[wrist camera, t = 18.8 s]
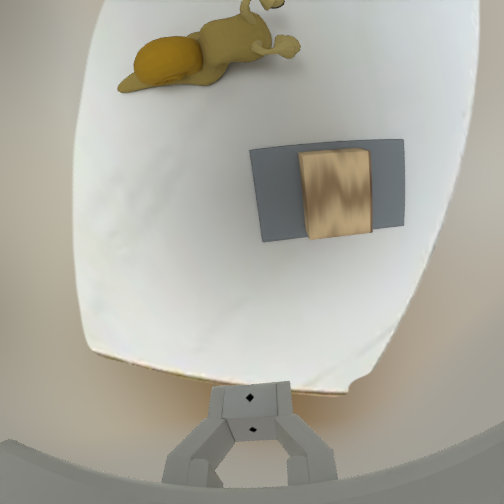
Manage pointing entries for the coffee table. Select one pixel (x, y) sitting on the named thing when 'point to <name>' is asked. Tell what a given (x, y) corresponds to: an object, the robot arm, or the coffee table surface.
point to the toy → (208, 51)
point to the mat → (290, 188)
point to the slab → (337, 192)
